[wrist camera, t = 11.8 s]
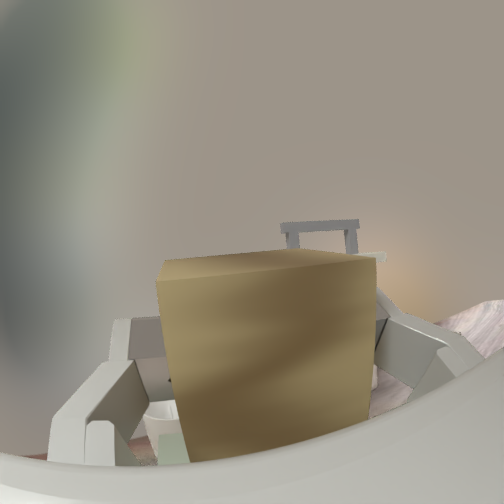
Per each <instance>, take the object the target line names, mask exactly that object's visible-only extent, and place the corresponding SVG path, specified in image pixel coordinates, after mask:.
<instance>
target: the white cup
mask: <svg viewBox="0 0 504 504" xmlns="http://www.w3.org/2000/svg"><path fill="white" fill-rule="evenodd" d="M149 403H150V405H149V407H148V408H147V410H146V412H145V414H144V415H143V417H142V418H143V422H144V425H145V428H146V431H147V434H148V437H149V440H150V443H151V445H152V447H153V451H154V453H155V455H156V457H157V459H158V440H159V435H161V434H174V433H182V429H181V425H180V421H179V416H178V412H177V407H176V403H175V400H168V401H159V402H149Z"/></svg>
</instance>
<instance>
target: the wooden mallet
mask: <svg viewBox="0 0 504 504" xmlns="http://www.w3.org/2000/svg"><path fill="white" fill-rule="evenodd" d="M156 288H157V296H158V304H159V312H160V319H161V326H162V332H163V339H164V345H165V351H166V357H167V362H168V368H169V373H170V378H171V383H172V388H173V393H174V398H175V403H176V407H177V412H178V416H179V421H180V425H181V429H182V433H183V437H184V441H185V445H186V449H187V453H188V457H189V460H190V463H192V462H201V461H209V460H216V459H223V458H229V457H235V456H241V455H246V454H251V453H256V452H261V451H266V450H270V449H275V448H279V447H283V446H287V445H291V444H294V443H298V442H302V441H305V440H309V439H312V438H316V437H319V436H322V435H325V434H329V433H332V432H335V431H338V430H341V429H343V428H346V427H349V426H352V425H355V424H357V423H360V422H363V421H365V420H368V414H369V406H370V397H371V388H372V378H373V366H374V351H375V332H376V258H375V257H367V256H358V255H350V254H342V253H334V252H325V251H316V250H308V249H300V248H294V249H283V250H273V251H262V252H251V253H240V254H229V255H218V256H207V257H196V258H186V259H174V260H165V262H164V264H163V266H162V268H161V271H160V273H159V276H158V278H157V280H156Z"/></svg>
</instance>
